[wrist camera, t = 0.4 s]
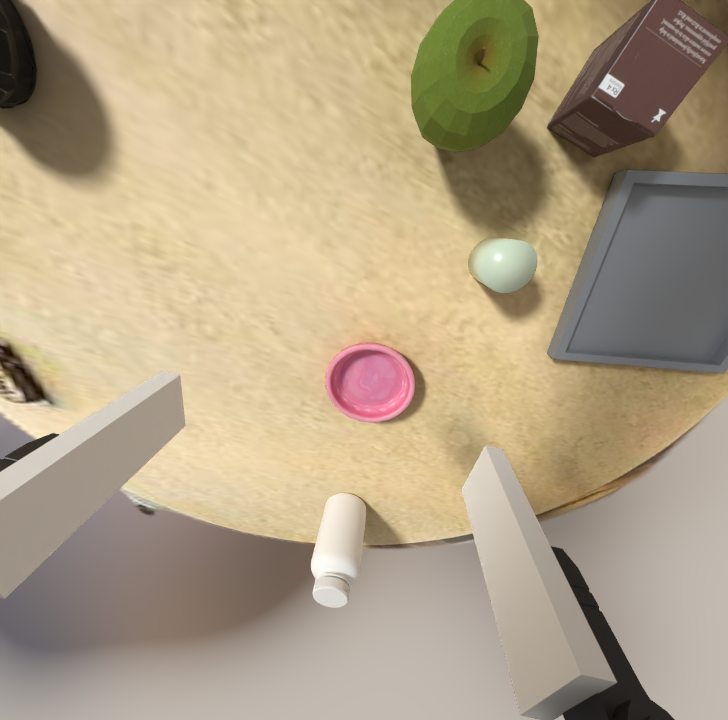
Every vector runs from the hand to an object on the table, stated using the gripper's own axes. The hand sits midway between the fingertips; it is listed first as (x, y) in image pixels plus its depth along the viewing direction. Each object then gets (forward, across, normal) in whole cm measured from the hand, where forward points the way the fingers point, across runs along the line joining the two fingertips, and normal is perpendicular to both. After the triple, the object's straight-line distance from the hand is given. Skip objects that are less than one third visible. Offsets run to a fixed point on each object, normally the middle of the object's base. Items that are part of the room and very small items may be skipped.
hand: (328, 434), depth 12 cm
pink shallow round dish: (+27, +2, -12) cm, 29 cm away
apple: (+27, +4, +19) cm, 33 cm away
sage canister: (+26, +13, +7) cm, 30 cm away
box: (+27, +16, +22) cm, 38 cm away
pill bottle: (+26, +4, -41) cm, 49 cm away
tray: (+26, +33, +9) cm, 43 cm away
